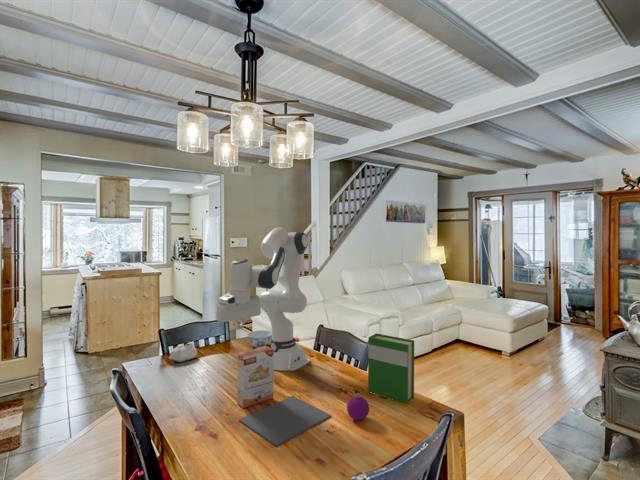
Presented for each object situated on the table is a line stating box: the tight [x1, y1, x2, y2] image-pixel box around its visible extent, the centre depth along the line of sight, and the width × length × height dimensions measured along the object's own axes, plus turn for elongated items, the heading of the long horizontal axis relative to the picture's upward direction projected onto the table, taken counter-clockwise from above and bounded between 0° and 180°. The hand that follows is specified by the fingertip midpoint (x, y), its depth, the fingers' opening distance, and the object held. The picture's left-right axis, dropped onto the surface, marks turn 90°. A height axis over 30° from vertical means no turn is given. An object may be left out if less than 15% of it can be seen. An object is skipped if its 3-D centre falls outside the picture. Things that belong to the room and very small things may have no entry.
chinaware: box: [247, 330, 272, 349], centre depth 210 cm, size 15×15×8 cm
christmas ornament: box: [346, 393, 370, 421], centre depth 128 cm, size 8×8×10 cm
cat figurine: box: [168, 342, 198, 363], centre depth 186 cm, size 10×8×15 cm
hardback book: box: [367, 333, 415, 405], centre depth 147 cm, size 18×7×24 cm, turn 54°
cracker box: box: [236, 345, 275, 409], centre depth 141 cm, size 14×6×21 cm, turn 130°
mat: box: [238, 395, 332, 448], centre depth 127 cm, size 26×22×1 cm
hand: (239, 328), depth 149 cm, fingers closed
